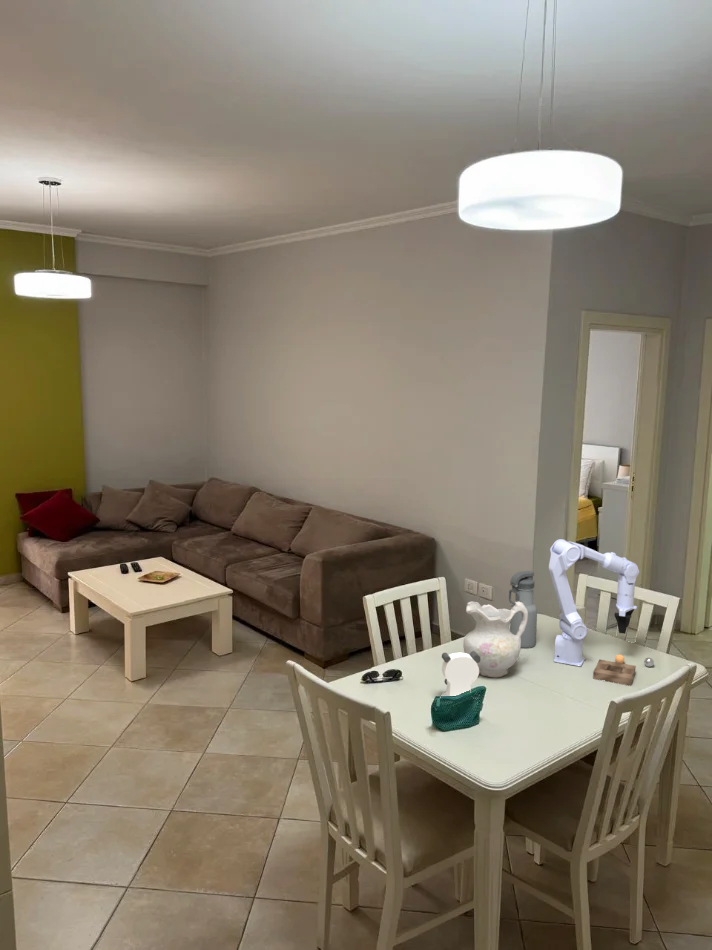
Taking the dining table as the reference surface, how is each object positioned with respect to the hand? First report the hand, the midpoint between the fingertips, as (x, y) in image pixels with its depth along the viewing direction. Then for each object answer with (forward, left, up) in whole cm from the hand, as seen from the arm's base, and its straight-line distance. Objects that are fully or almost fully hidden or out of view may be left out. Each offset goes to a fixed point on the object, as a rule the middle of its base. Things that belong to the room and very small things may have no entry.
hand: (623, 629), depth 262 cm
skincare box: (-19, +13, -11) cm, 26 cm away
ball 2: (+10, -5, -9) cm, 14 cm away
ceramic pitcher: (-37, -34, -11) cm, 51 cm away
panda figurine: (-40, -61, -11) cm, 74 cm away
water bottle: (-35, -5, -11) cm, 37 cm away
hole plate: (0, -19, -10) cm, 21 cm away
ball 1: (0, -7, -9) cm, 11 cm away
